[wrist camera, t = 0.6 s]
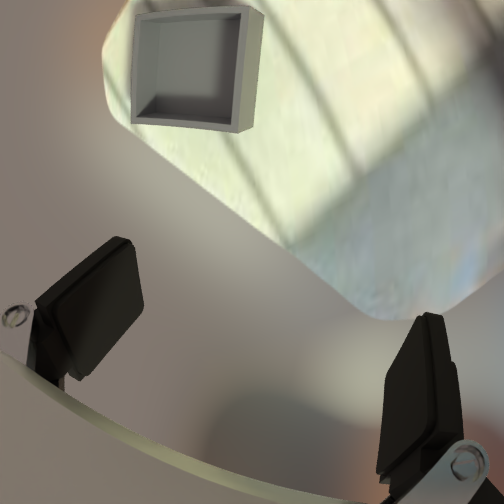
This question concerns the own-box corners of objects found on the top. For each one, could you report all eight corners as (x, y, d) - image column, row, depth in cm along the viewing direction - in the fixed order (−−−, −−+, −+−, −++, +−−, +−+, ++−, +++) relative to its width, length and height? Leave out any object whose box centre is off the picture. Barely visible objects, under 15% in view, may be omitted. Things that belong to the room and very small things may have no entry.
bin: (159, 19, 31) (135, 14, 27) (264, 15, 28) (249, 6, 24) (154, 117, 38) (130, 123, 34) (252, 127, 35) (237, 133, 31)
